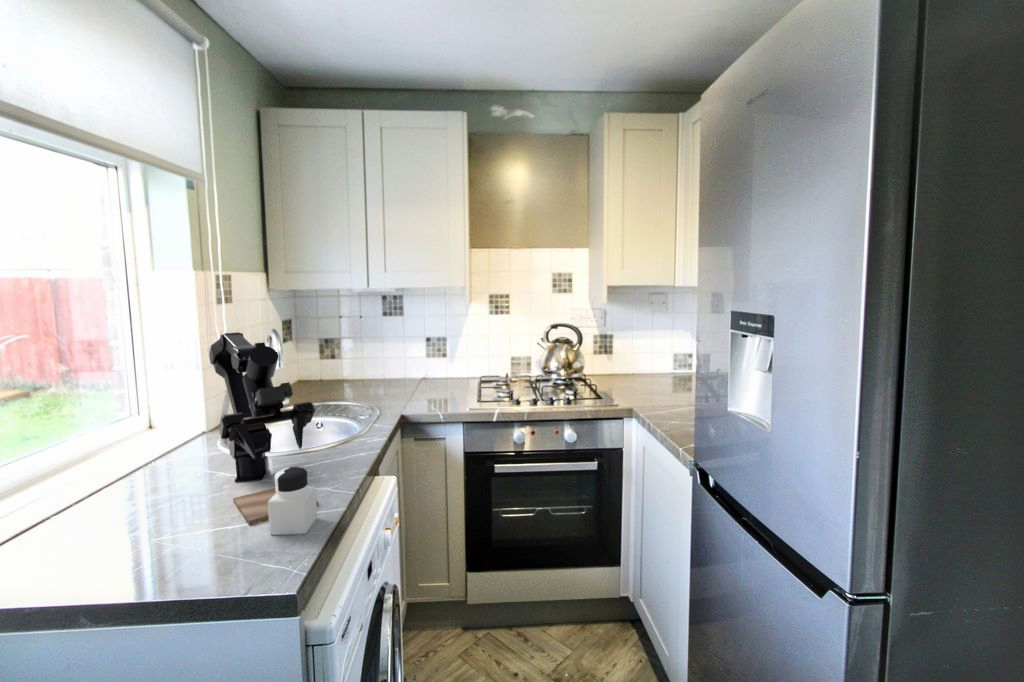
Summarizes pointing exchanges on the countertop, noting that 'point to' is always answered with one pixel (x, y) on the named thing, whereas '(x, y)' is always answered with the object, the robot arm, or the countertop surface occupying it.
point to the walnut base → (255, 505)
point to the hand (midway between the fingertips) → (278, 452)
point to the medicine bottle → (292, 503)
